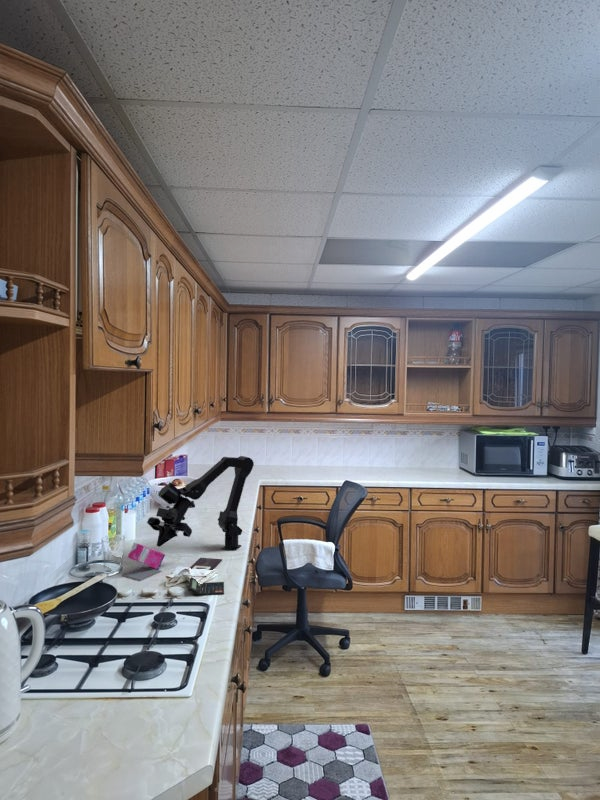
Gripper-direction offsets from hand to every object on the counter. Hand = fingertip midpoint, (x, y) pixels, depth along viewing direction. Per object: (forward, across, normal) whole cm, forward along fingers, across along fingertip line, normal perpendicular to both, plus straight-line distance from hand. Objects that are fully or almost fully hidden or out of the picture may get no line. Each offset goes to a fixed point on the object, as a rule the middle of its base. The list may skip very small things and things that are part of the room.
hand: (158, 546), depth 183 cm
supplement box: (+4, 0, +4) cm, 6 cm away
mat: (+11, 0, 0) cm, 11 cm away
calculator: (+11, +29, 0) cm, 31 cm away
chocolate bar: (0, +15, +12) cm, 19 cm away
